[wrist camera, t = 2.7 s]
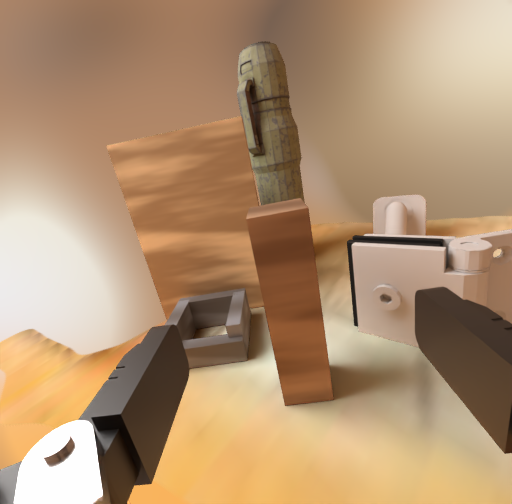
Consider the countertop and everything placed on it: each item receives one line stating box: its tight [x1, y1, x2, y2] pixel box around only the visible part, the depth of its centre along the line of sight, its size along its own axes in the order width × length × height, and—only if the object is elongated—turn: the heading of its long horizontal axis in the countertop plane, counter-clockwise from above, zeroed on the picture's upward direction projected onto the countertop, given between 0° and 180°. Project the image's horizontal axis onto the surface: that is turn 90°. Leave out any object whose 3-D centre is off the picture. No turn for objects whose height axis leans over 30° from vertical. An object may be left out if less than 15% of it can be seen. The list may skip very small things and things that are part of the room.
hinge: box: [347, 229, 512, 347], centre depth 26 cm, size 14×5×10 cm, turn 63°
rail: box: [246, 198, 334, 406], centre depth 23 cm, size 6×4×16 cm, turn 178°
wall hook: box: [373, 195, 426, 236], centre depth 46 cm, size 8×10×10 cm
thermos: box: [237, 42, 313, 240], centre depth 48 cm, size 9×12×35 cm
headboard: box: [107, 116, 264, 368], centre depth 31 cm, size 12×16×24 cm
